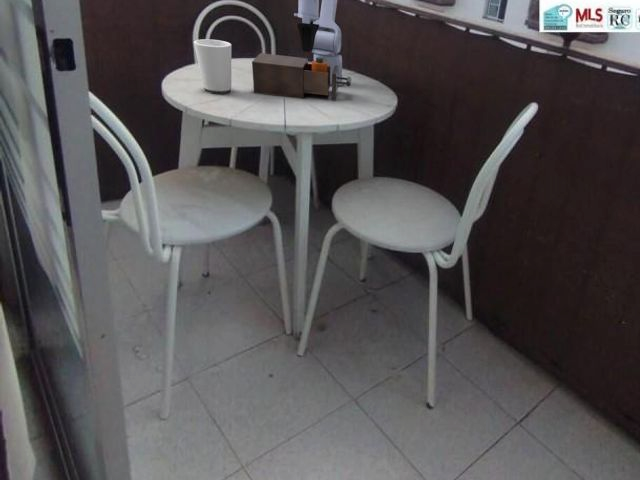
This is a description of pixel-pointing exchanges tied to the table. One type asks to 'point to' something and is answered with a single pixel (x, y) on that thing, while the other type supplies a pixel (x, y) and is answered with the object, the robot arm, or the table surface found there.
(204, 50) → the cup
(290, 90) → the cabinet
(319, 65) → the bottle
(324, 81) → the drawer
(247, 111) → the table surface
